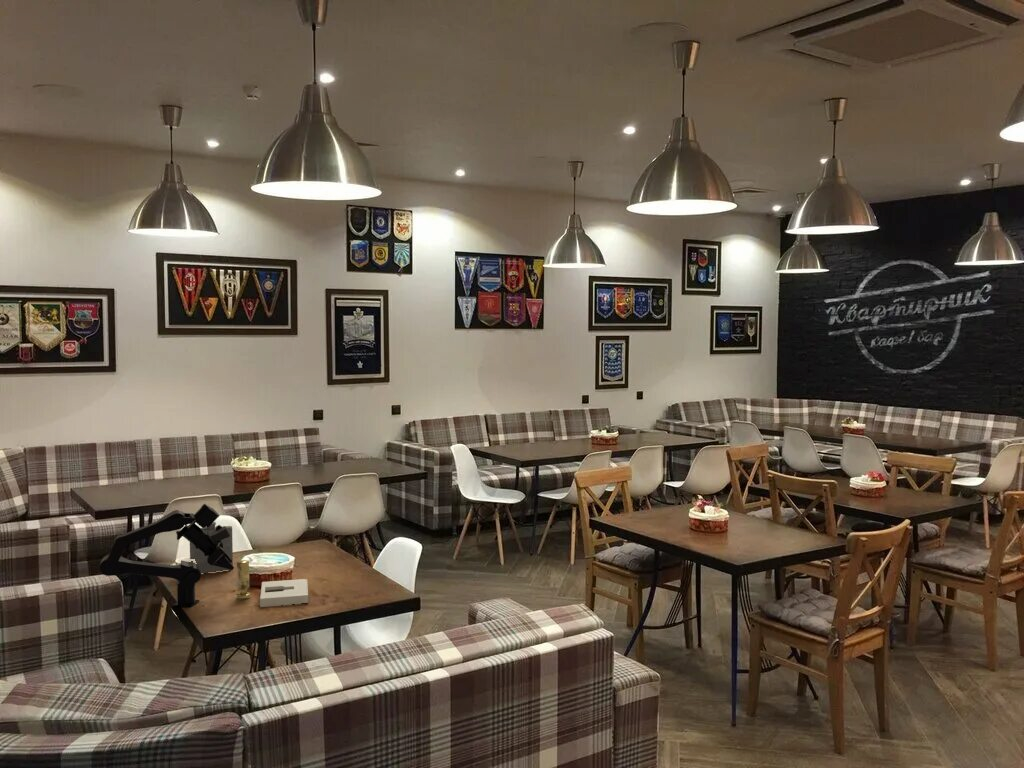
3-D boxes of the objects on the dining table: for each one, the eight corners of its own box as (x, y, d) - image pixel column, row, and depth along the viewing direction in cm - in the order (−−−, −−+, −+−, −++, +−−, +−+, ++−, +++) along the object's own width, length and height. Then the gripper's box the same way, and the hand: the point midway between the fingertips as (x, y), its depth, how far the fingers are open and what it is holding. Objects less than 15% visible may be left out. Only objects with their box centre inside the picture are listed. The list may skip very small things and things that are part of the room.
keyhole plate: (260, 607, 286) (260, 598, 286) (262, 590, 306) (262, 582, 305) (308, 603, 290) (308, 595, 290) (307, 586, 310) (307, 578, 309)
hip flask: (232, 568, 333) (231, 519, 332) (233, 571, 330) (232, 521, 329) (190, 573, 327) (189, 523, 326) (190, 576, 323) (189, 525, 322)
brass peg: (247, 599, 294) (246, 563, 293) (234, 599, 295) (233, 563, 294) (253, 595, 299) (252, 560, 298) (240, 595, 300) (239, 559, 299)
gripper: (217, 525, 283) (251, 554, 288) (213, 514, 300) (246, 542, 305) (192, 550, 281) (227, 579, 285) (190, 538, 298) (223, 565, 303)
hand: (232, 565), depth 295 cm, fingers open, 9 cm apart
